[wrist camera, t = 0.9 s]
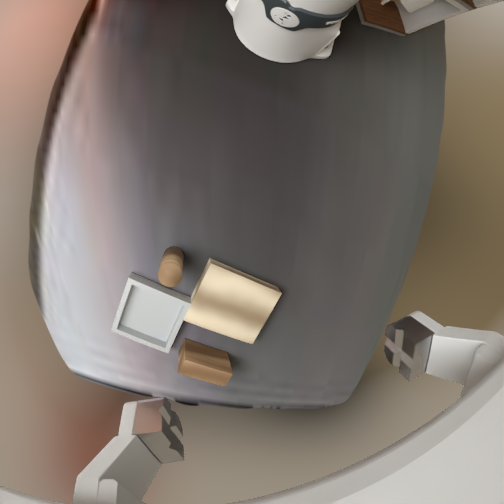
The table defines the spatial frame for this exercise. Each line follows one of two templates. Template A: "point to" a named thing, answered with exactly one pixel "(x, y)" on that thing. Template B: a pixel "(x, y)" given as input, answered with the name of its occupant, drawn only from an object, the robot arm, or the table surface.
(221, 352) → the wooden block
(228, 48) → the table surface
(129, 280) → the tray
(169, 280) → the dowel
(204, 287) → the board
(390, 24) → the display case
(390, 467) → the robot arm
